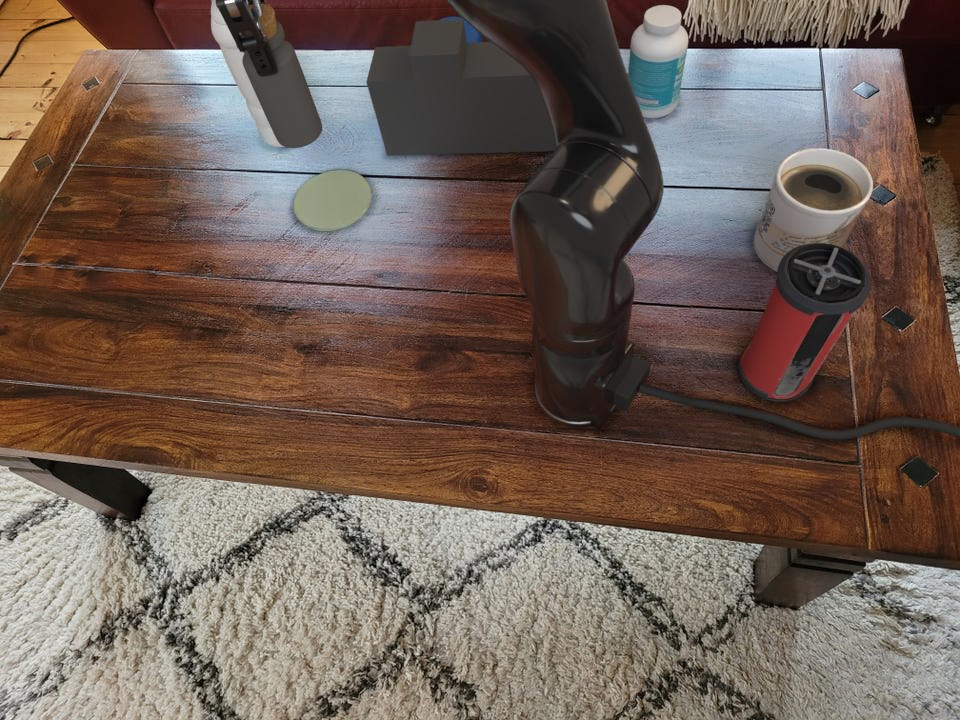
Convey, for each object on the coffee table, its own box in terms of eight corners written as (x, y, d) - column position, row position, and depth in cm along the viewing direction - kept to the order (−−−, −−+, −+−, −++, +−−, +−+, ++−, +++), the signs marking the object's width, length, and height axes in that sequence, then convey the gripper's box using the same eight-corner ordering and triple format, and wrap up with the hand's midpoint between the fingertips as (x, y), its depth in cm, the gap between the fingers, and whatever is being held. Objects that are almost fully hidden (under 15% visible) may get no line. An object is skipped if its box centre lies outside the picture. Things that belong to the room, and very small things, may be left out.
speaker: (750, 332, 78) (796, 225, 62) (820, 359, 75) (886, 253, 60) (726, 386, 75) (768, 286, 59) (798, 415, 72) (861, 319, 57)
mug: (731, 248, 84) (753, 182, 75) (784, 191, 88) (810, 121, 78) (811, 291, 80) (844, 227, 70) (862, 229, 84) (900, 160, 74)
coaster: (387, 189, 96) (386, 186, 95) (336, 242, 91) (335, 239, 91) (329, 163, 100) (328, 160, 99) (278, 212, 95) (277, 209, 95)
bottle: (268, 130, 84) (215, 15, 72) (310, 109, 86) (265, -8, 73) (288, 156, 81) (237, 41, 69) (331, 134, 83) (288, 17, 70)
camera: (563, 76, 104) (562, -27, 91) (561, 151, 96) (560, 49, 82) (402, 83, 107) (379, -16, 94) (387, 155, 99) (359, 58, 86)
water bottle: (317, 125, 104) (254, -41, 83) (287, 155, 101) (214, -9, 80) (283, 112, 107) (213, -53, 85) (253, 141, 104) (173, -22, 83)
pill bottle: (681, 119, 97) (697, 30, 85) (627, 122, 97) (636, 35, 86) (674, 84, 101) (688, -5, 89) (622, 88, 101) (630, 1, 90)
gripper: (161, -144, 64) (235, 24, 78) (150, -65, 56) (234, 104, 71) (240, -160, 64) (299, 11, 78) (239, -84, 56) (305, 89, 71)
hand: (268, 54), depth 74 cm, fingers closed on bottle, 5 cm apart
